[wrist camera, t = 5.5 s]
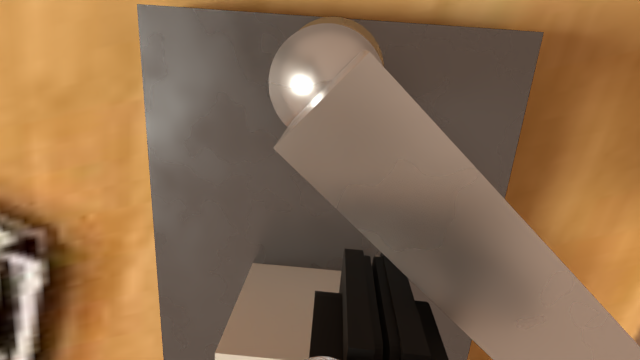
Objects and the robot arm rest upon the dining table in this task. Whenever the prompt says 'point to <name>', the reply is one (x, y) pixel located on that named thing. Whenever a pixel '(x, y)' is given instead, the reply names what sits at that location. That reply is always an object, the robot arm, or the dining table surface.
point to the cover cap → (275, 313)
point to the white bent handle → (428, 202)
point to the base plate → (272, 169)
